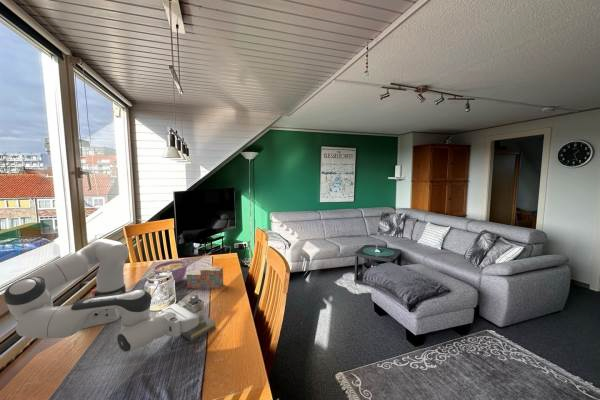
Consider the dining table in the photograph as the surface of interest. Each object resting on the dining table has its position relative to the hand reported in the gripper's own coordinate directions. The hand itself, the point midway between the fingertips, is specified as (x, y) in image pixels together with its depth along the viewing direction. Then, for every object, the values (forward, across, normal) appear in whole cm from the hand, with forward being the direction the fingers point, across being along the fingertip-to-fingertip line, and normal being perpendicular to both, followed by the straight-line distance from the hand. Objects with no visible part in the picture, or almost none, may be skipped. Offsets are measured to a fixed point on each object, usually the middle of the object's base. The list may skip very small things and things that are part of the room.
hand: (196, 308), depth 114 cm
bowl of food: (+18, -61, -10) cm, 64 cm away
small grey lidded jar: (-1, 0, -7) cm, 7 cm away
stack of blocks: (+28, -36, -10) cm, 47 cm away
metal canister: (-1, 0, +3) cm, 3 cm away
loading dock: (-1, 0, -10) cm, 10 cm away
